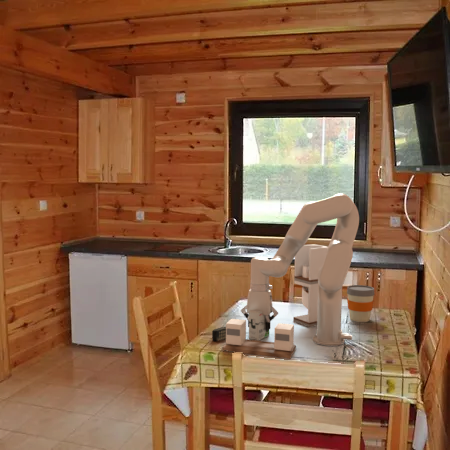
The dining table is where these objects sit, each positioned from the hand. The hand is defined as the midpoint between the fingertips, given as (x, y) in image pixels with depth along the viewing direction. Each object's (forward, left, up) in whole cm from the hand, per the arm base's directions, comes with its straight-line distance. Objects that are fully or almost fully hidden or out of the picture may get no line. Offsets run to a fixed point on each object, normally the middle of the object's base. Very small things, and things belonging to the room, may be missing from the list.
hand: (259, 329), depth 216 cm
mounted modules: (-4, +15, -1) cm, 16 cm away
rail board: (-4, +15, -3) cm, 16 cm away
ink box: (0, 0, -3) cm, 3 cm away
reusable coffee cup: (-38, -42, -3) cm, 57 cm away
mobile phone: (+12, +5, -4) cm, 14 cm away
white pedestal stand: (-17, -29, -3) cm, 34 cm away
